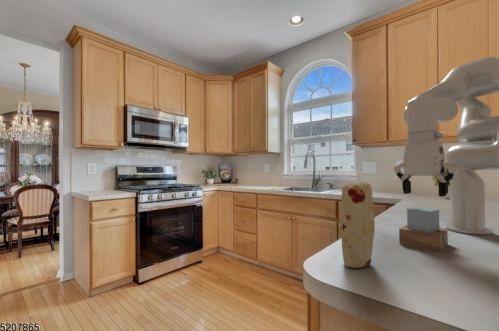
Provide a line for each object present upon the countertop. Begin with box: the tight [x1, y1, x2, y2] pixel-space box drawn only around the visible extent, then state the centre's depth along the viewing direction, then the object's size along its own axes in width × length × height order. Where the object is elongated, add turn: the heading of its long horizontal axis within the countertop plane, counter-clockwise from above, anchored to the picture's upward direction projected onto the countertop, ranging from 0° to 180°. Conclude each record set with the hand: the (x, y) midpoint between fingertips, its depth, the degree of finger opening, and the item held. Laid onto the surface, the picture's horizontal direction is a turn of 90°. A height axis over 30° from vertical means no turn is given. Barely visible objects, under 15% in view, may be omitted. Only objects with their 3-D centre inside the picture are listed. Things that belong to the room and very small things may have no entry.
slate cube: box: [406, 206, 440, 233], centre depth 75 cm, size 6×6×6 cm
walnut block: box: [398, 224, 449, 253], centre depth 75 cm, size 10×10×5 cm
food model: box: [340, 181, 376, 269], centre depth 59 cm, size 10×7×20 cm
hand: (424, 194), depth 75 cm, fingers open, 9 cm apart
